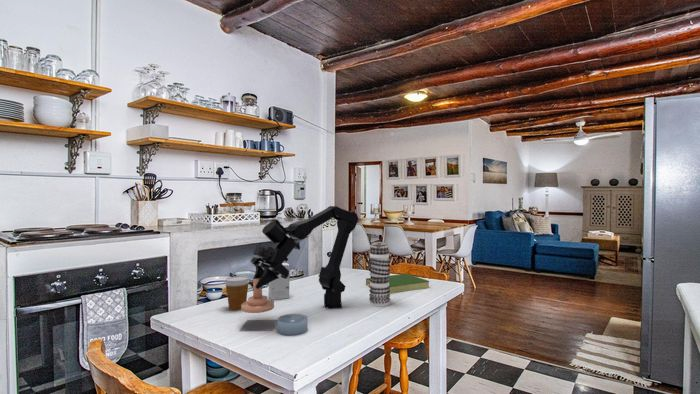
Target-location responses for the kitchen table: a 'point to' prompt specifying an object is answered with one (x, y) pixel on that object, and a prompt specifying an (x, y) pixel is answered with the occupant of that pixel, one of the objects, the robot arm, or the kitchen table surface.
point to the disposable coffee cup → (237, 291)
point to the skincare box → (279, 286)
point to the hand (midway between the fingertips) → (254, 287)
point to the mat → (259, 325)
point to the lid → (257, 301)
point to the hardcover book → (404, 283)
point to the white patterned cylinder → (379, 274)
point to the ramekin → (292, 324)
